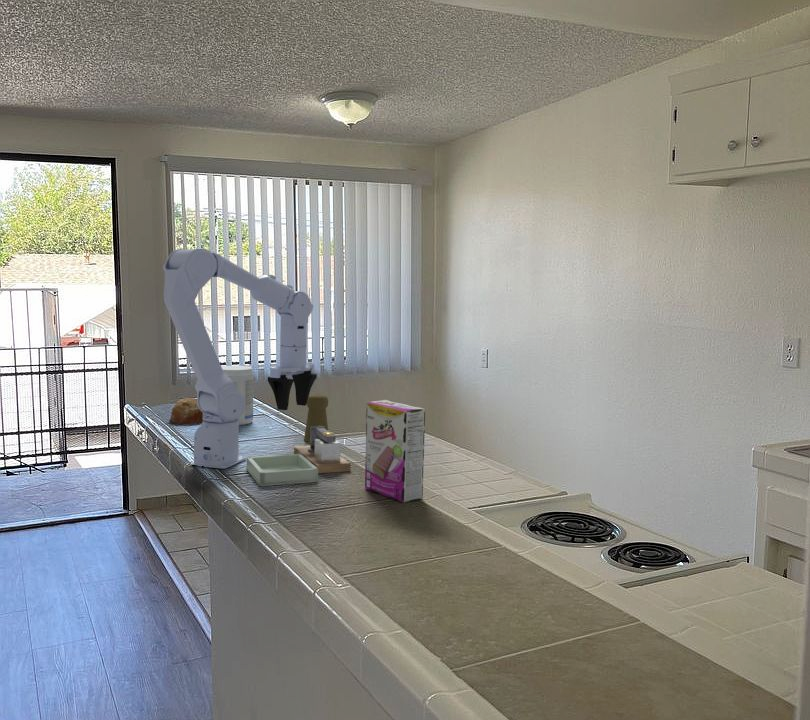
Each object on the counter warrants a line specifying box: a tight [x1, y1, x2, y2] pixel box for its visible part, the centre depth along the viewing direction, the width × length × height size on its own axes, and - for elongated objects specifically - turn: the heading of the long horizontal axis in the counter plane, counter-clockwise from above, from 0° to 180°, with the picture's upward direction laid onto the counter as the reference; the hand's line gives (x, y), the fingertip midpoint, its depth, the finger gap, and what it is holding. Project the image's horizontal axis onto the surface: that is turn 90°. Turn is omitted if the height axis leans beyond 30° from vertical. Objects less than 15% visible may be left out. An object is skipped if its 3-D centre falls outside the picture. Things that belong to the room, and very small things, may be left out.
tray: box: [246, 453, 319, 487], centre depth 147 cm, size 13×11×2 cm
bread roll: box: [169, 397, 203, 425], centre depth 200 cm, size 10×10×8 cm
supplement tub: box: [221, 365, 254, 426], centre depth 199 cm, size 10×10×15 cm
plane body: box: [293, 445, 352, 474], centre depth 159 cm, size 18×7×2 cm, turn 23°
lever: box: [309, 426, 337, 450], centre depth 158 cm, size 12×3×5 cm, turn 23°
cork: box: [303, 393, 329, 443], centre depth 180 cm, size 6×6×11 cm
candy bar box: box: [364, 399, 426, 504], centre depth 136 cm, size 11×5×16 cm, turn 41°
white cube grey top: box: [314, 439, 342, 463], centre depth 155 cm, size 5×4×4 cm
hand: (292, 407), depth 167 cm, fingers open, 7 cm apart
